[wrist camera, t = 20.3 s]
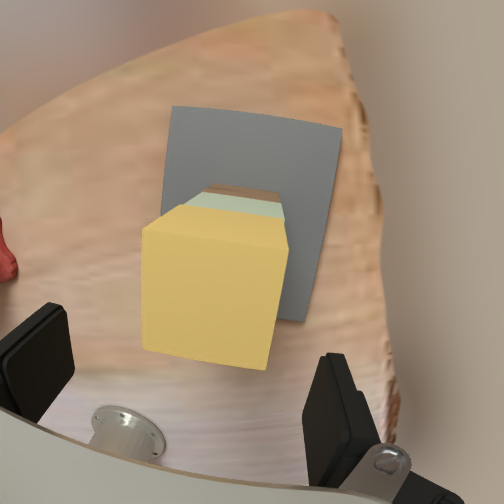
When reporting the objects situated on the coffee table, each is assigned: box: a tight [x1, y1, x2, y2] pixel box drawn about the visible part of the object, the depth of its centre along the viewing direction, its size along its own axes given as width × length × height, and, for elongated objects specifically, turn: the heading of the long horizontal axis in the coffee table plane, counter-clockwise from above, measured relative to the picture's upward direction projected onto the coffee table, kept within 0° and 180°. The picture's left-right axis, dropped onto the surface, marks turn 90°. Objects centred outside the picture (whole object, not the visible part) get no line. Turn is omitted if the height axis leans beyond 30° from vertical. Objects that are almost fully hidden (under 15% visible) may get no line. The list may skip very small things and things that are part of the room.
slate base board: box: [161, 106, 343, 322], centre depth 32 cm, size 20×16×2 cm
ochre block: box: [141, 204, 289, 370], centre depth 17 cm, size 6×6×6 cm
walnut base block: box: [202, 183, 280, 203], centre depth 28 cm, size 6×6×6 cm
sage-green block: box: [183, 192, 285, 223], centre depth 22 cm, size 6×6×6 cm
